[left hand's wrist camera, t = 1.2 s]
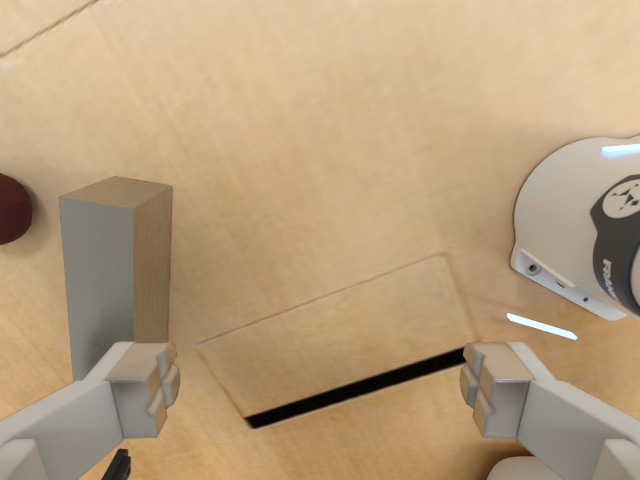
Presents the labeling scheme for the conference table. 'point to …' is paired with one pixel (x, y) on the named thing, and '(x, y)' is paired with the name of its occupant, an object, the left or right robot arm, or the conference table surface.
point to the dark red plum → (13, 210)
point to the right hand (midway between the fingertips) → (76, 449)
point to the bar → (115, 266)
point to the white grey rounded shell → (521, 469)
